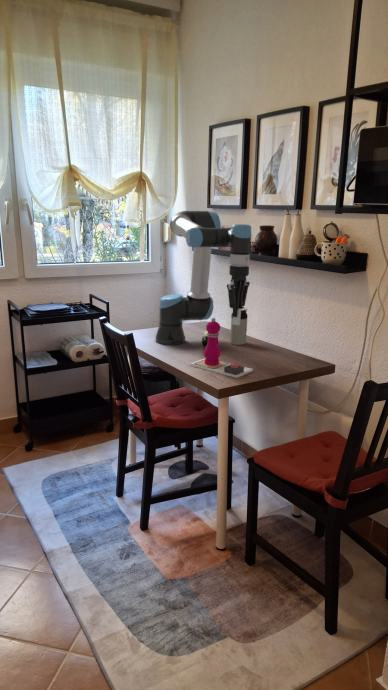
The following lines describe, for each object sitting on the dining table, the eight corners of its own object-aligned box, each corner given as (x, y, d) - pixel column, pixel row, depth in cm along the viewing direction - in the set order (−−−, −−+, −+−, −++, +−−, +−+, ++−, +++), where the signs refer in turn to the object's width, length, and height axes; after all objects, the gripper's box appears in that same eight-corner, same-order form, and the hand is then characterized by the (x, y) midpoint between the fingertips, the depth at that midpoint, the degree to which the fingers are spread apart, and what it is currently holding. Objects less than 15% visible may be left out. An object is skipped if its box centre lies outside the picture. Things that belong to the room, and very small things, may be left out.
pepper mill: (219, 366, 213) (221, 320, 208) (202, 365, 214) (203, 319, 209) (221, 361, 220) (223, 316, 215) (204, 360, 221) (206, 315, 216)
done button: (232, 368, 209) (233, 362, 208) (240, 369, 207) (240, 364, 206) (227, 370, 206) (228, 364, 206) (235, 371, 204) (235, 366, 203)
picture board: (206, 359, 226) (207, 352, 225) (252, 371, 212) (253, 363, 211) (190, 365, 217) (190, 358, 216) (236, 378, 202) (237, 370, 202)
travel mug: (228, 344, 253) (229, 308, 248) (232, 340, 260) (234, 306, 256) (243, 346, 250) (245, 310, 246) (247, 342, 258) (249, 307, 253)
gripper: (238, 267, 188) (234, 328, 195) (256, 264, 198) (252, 323, 204) (221, 265, 193) (219, 325, 199) (240, 263, 203) (237, 320, 209)
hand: (236, 324), depth 202 cm, fingers closed
